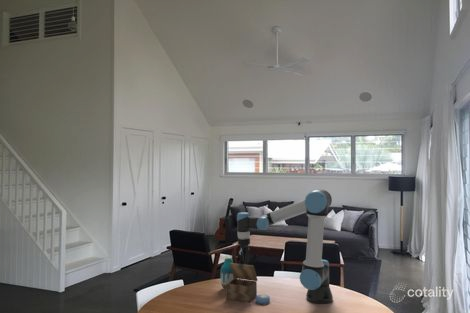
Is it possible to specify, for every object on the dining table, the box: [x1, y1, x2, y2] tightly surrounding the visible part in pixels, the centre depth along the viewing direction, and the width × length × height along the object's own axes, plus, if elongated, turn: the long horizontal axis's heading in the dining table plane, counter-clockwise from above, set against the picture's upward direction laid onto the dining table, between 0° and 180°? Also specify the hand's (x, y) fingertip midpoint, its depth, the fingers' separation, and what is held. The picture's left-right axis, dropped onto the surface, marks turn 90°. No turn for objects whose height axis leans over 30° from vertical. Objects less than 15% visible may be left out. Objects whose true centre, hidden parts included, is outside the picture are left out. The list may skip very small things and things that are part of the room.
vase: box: [220, 257, 236, 290], centre depth 234 cm, size 11×11×19 cm
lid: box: [229, 262, 258, 282], centre depth 220 cm, size 16×13×2 cm
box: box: [225, 279, 258, 303], centre depth 218 cm, size 15×11×9 cm
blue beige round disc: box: [255, 294, 271, 305], centre depth 211 cm, size 8×8×3 cm
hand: (245, 276), depth 223 cm, fingers closed
